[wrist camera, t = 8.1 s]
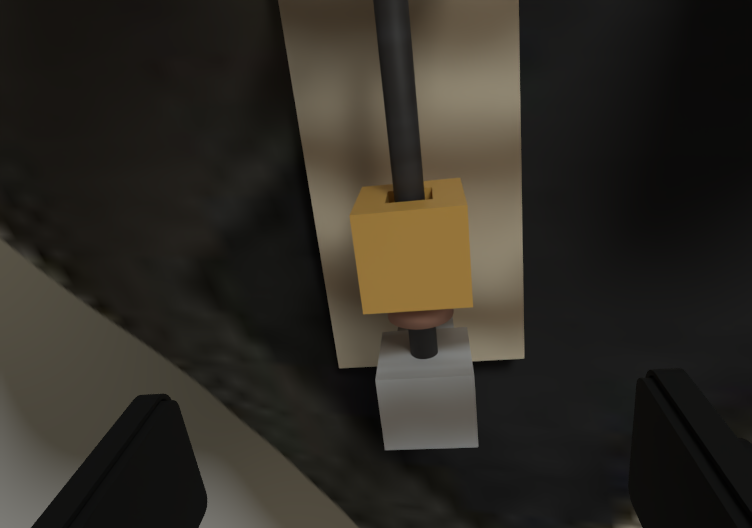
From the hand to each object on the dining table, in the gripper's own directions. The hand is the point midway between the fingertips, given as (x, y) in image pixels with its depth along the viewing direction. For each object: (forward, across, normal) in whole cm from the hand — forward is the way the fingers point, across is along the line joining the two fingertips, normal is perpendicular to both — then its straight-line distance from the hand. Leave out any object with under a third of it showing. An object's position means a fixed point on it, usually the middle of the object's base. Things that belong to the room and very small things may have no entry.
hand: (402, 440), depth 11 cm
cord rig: (+18, 0, -3) cm, 18 cm away
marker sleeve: (+14, 0, 0) cm, 14 cm away
